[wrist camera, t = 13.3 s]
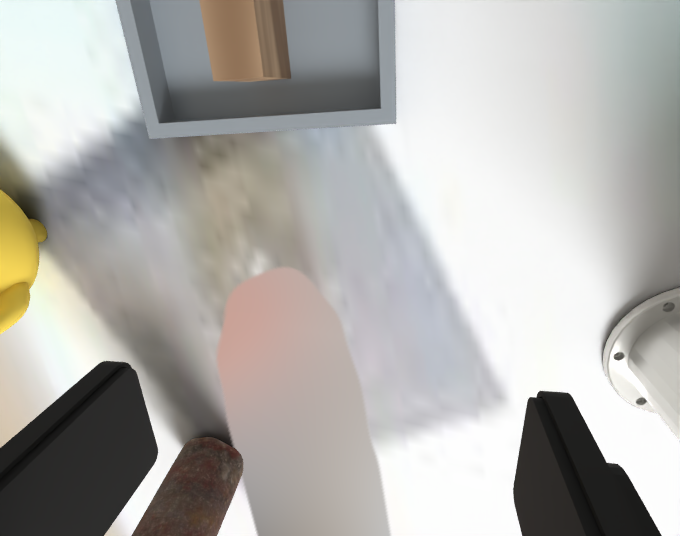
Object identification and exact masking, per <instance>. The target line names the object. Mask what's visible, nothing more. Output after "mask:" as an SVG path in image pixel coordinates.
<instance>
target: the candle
mask: <svg viewBox="0 0 680 536" xmlns="http://www.w3.org/2000/svg"><path fill="white" fill-rule="evenodd" d="M242 472H243V459H242V456H241V454H240V453H239V452H238V451H237V450H236V449H235V448H233V447H231V446H229V445H228V444H226V443H224V442H222V441H220V440H218V439H215V438H213V437H201V438H194V439H191V440H190V441H189V442H187V443H186V444H185V445H184V447H183V448H182V450H181V452H180V453H179V455H178V457H177V458H176V460H175V462H174V463H173V465H172V467H171V468H170V470H169V472H168V474H167V475H166V477H165V479H164V480H163V482H162V484H161V486H160V487H159V489H158V491H157V492H156V494H155V496H154V498H153V500H152V501H151V503H150V505H149V506H148V508H147V510H146V512H145V513H144V515H143V517H142V519H141V520H140V522H139V524H138V526H137V527H136V529H135V531H134V532H133V534H132V536H217V534H218V532H219V529H220V527H221V524H222V522H223V520H224V517H225V515H226V512H227V510H228V508H229V505H230V503H231V501H232V498H233V496H234V493H235V491H236V488H237V486H238V483H239V481H240V478H241V476H242Z"/></svg>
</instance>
